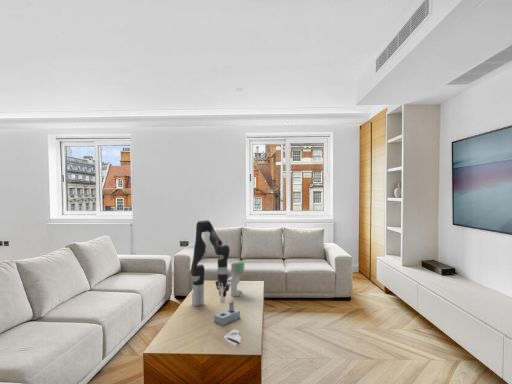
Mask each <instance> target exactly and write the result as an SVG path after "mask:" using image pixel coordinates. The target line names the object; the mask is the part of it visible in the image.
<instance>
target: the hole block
mask: <svg viewBox="0 0 512 384" xmlns="http://www.w3.org/2000/svg"><path fill="white" fill-rule="evenodd" d="M213 317H214V318H213V322H214V323H216V324H219V325H220V326H221V325H222V326H224V325H227V324H229V323H231V322H233V321H235V320H237V319H240V318H241V311H240V310H239V309H236V308H234V312H232V313H231V312H229V308H228V309H225V310H224V311H220V312H218V313H215V314H214V315H213Z"/></svg>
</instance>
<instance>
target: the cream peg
mask: <svg viewBox="0 0 512 384" xmlns="http://www.w3.org/2000/svg"><path fill="white" fill-rule="evenodd" d="M219 297H220V304H225V303H226V297H223V289H222V286H220V295H219Z"/></svg>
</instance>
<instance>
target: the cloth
mask: <svg viewBox="0 0 512 384" xmlns="http://www.w3.org/2000/svg"><path fill="white" fill-rule="evenodd" d="M223 338H224V339H225V340H226V341H227V342H229V343H230V344H232V345H233V346H235V347H237V345H238V344H241V342H242V337H241V335H240V330H237V329H236V328H234V329H232V330H231V331H229V332H228V333H226V335H224V336H223Z"/></svg>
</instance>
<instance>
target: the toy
mask: <svg viewBox="0 0 512 384" xmlns="http://www.w3.org/2000/svg"><path fill="white" fill-rule="evenodd" d="M230 265H231V268H230V269H231V273H230V276H229V277H228V279H227V283H230V296H231V297H240V294H241V293H243V290H241V289H239V290H238V284H239V283H240V275H241V274H242V273H244V271H245V260H243V261H242V260H235V261H233V262H232V263H231V264H230ZM241 295H242V294H241Z"/></svg>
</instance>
